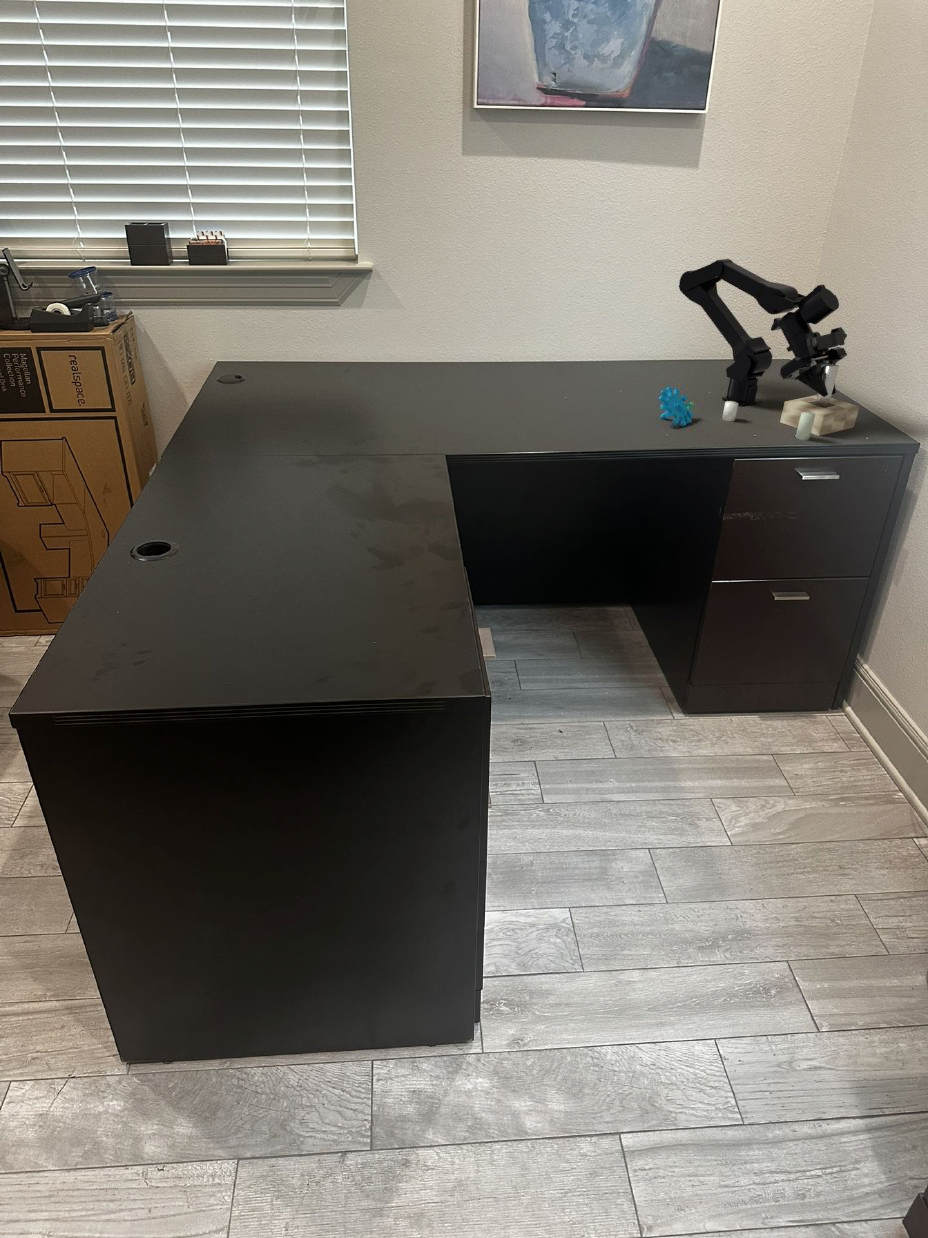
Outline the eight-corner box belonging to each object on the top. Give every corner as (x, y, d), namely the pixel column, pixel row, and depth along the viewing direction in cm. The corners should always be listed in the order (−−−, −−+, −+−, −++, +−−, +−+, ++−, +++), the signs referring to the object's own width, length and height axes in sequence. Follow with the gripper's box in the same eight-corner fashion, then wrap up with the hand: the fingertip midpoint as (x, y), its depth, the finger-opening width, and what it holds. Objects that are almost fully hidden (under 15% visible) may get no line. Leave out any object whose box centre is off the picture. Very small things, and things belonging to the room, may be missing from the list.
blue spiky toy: (672, 423, 190) (657, 384, 192) (654, 436, 195) (640, 398, 197) (703, 422, 197) (689, 385, 198) (685, 435, 201) (671, 398, 203)
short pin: (719, 418, 200) (722, 402, 198) (728, 416, 202) (731, 400, 200) (728, 422, 198) (732, 405, 196) (737, 420, 200) (741, 403, 197)
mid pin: (792, 436, 190) (798, 413, 187) (801, 434, 192) (807, 411, 189) (803, 440, 188) (809, 416, 185) (812, 438, 189) (818, 415, 187)
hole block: (779, 422, 199) (784, 401, 196) (814, 414, 205) (819, 394, 203) (818, 435, 191) (824, 414, 189) (853, 427, 197) (859, 406, 195)
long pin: (812, 422, 197) (826, 366, 190) (810, 418, 199) (824, 363, 192) (825, 423, 196) (840, 367, 189) (823, 419, 199) (837, 364, 192)
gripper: (804, 319, 183) (836, 382, 182) (850, 311, 193) (881, 370, 192) (766, 348, 192) (796, 408, 191) (811, 338, 202) (840, 395, 201)
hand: (829, 394), depth 193 cm, fingers closed on long pin, 3 cm apart
